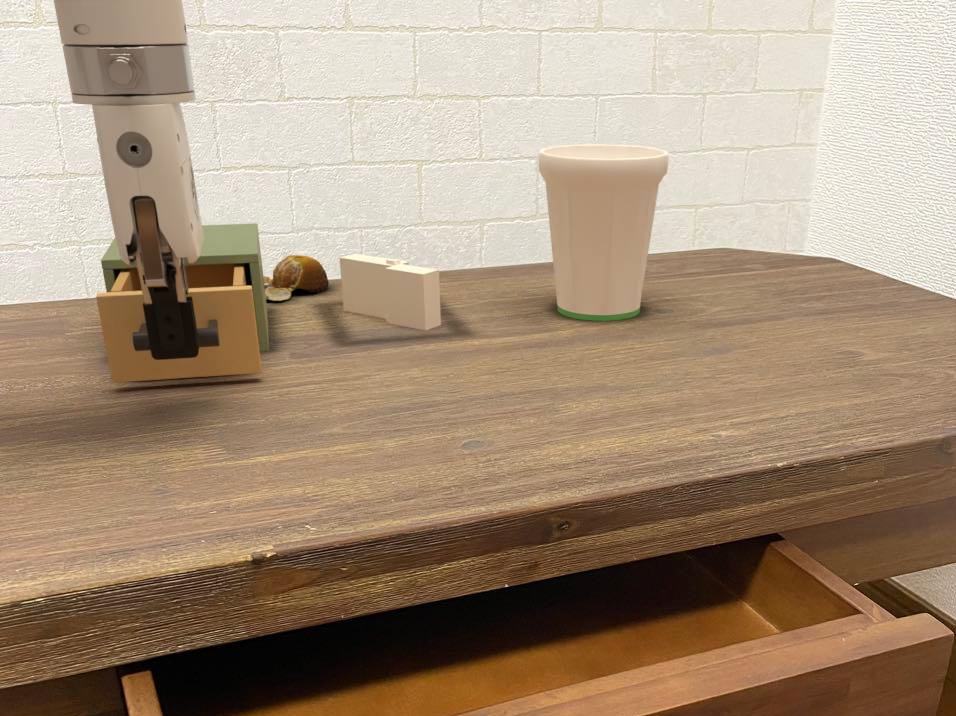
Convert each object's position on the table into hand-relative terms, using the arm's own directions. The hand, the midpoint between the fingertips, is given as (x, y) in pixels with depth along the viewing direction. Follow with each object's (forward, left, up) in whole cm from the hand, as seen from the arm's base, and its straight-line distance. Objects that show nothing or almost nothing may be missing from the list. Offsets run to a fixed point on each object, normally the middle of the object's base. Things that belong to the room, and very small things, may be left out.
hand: (176, 355), depth 75 cm
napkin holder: (+18, +24, -5) cm, 31 cm away
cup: (+39, +23, -5) cm, 46 cm away
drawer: (0, +11, -4) cm, 12 cm away
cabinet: (0, +23, -5) cm, 24 cm away
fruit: (+8, +38, -5) cm, 40 cm away
